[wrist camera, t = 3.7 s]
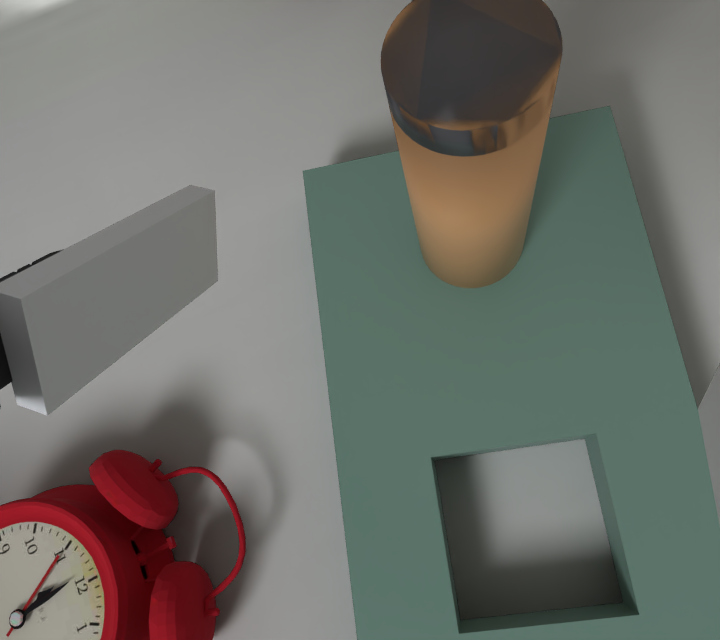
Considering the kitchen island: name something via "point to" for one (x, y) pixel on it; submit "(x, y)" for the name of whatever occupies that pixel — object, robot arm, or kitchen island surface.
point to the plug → (471, 126)
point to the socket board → (511, 393)
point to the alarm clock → (105, 560)
